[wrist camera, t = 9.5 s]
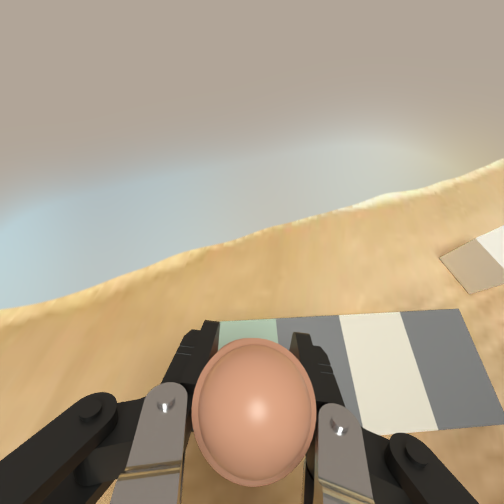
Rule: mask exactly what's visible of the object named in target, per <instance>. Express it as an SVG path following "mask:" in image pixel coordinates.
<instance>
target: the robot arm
mask: <svg viewBox="0 0 504 504" xmlns="http://www.w3.org/2000/svg"><path fill="white" fill-rule="evenodd" d="M219 333H220V322H217V321H209V320H205V321H204V323H203V326H202V328H201V331H200V330H191V331H190V332H188V333H187V334H186V335H185V336H184V337H183V339H182V341H181V343H180V346H179V348H178V350H177V352H176V354H175V356H174V358H173V360H172V362H171V364H170V366H169V368H168V370H167V372H166V374H165V376H164V378H163V380H162V382H161V384H160V385H158V386H156V387H154V388H153V389H152V390H151V391H150V392H149V393H148V394H147V396H146V397H143V398H141V399H137V400H132V401H126V402H121V403H117V401H116V398H115V397H114V396H113V395H112V394H109V393H106V392H99V393H94V394H91V395H88V396H86V397H84V398H82V399H80V400H79V401H77V402H76V403H75V404H73V405H72V406H71V407H70V408H68V409H67V410H66V411H64V412H63V413H62V414H61V415H59V416H58V417H57V418H55V419H54V420H53V421H51V422H50V423H49V424H48V425H46V426H45V427H44V428H42V429H41V430H40V431H39V432H37V433H36V434H35V435H33V436H32V437H31V438H30V439H28V440H27V441H26V442H24V443H23V444H22V445H20V446H19V447H18V448H17V449H15V450H14V451H13V452H11V453H10V454H9V455H8V456H6V457H5V458H4V459H2V460H1V461H0V504H95V503H96V502H97V501H98V500H99V498H100V497H101V496H102V495H103V494H104V492H105V491H106V490H107V489H108V488H109V486H110V485H111V484H112V483H113V481H114V480H115V479H117V482H116V485H115V488H114V491H113V495H112V498H111V501H110V504H181V503H182V490H183V477H184V465H185V452H186V447H187V444H188V441H189V437H190V433H191V431H192V432H194V431H193V425H192V400H193V395H194V390H195V387H196V384H197V381H198V379H199V376H200V374H201V372H202V371H203V369H204V367H205V366H206V364H207V363H208V362H209V360H210V359H211V358H212V357H213V356H214V355H215V354H216V353H217V352H218V345H219ZM289 351H290V352H291V353H292V354H293V355H294V356H295V357H296V358H297V359H298V360H299V362H300V363H301V364H302V366H303V367H304V369H305V370H306V372H307V374H308V376H309V379H310V381H311V384H312V387H313V390H314V395H315V400H316V423H315V430H314V434H313V438H312V441H311V443H310V446H309V448H308V450H307V452H306V454H305V455H306V459H305V462H304V467H303V483H302V500H301V504H479V503H478V502H477V501H476V500H475V499H474V498H473V496H472V495H471V494H470V493H469V492H468V491H467V490H466V489H465V488H464V486H463V485H462V484H461V483H460V482H459V481H458V480H457V479H456V478H455V476H454V475H453V474H452V473H451V472H450V471H449V470H448V469H447V468H446V466H445V465H444V464H443V463H442V462H441V461H440V460H439V459H438V458H437V457H436V455H435V454H434V453H433V452H432V451H431V450H430V449H429V448H428V447H427V446H426V445H425V444H424V443H423V442H421V441H420V440H418V439H417V438H415V437H413V436H411V435H409V434H406V433H395V434H393V435H392V436H391V438H390V440H388V439H386V438H384V437H382V436H379V435H377V434H375V433H373V432H370V431H368V430H366V429H365V428H363V427H362V426H360V423H359V422H358V420H357V418H356V417H355V416H354V415H353V414H352V412H350V411H349V410H348V409H346V407H345V404H344V401H343V399H342V396H341V393H340V390H339V387H338V384H337V381H336V378H335V375H334V374H333V370H332V367H331V364H330V361H329V358H328V355H327V354H326V353H325V351H324V350H323V349H322V348H321V347H320V346H314V345H313V343H312V340H311V336H310V334H309V333H301V332H293V334H292V339H291V344H290V349H289Z"/></svg>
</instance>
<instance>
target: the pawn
mask: <svg viewBox="0 0 504 504" xmlns="http://www.w3.org/2000/svg"><path fill="white" fill-rule="evenodd" d="M315 423H316V400H315V395H314V390H313V387H312V384H311V381H310V379H309V376H308V374H307V372H306V370H305V369H304V367H303V366H302V364H301V363H300V362H299V360H298V359H297V358H296V357H295V356H294V355H293V354H292V353H291V352H290V351H289V350H287V349H286V348H285V347H283V346H281V345H280V344H278V343H275V342H273V341H270V340H267V339H261V338H242V339H238V340H234V341H232V342H229V343H228V344H226V345H224V346H223V347H222V348H220V349H219V350H218V352H217V353H216V354H215V355H214V356H213V357H212V358H211V359H210V360H209V362H208V363H207V364H206V366H205V367H204V369H203V371H202V372H201V374H200V376H199V379H198V381H197V384H196V387H195V390H194V395H193V400H192V425H193V431H194V435H195V439H196V441H197V444H198V447H199V449H200V451H201V453H202V454H203V456H204V458H205V459H206V461H207V462H208V463H209V465H210V466H211V467H212V468H213V469H214V470H215V471H216V472H217V473H219V474H220V475H221V476H222V477H224V478H225V479H227V480H229V481H231V482H233V483H236V484H239V485H243V486H249V487H259V486H264V485H269V484H272V483H274V482H277V481H279V480H280V479H282V478H284V477H285V476H287V475H288V474H289V473H290V472H292V471H293V470H294V469H295V468H296V466H297V465H298V464H299V463H300V462H301V460H302V459H303V457H304V456H305V454H306V452H307V450H308V448H309V446H310V443H311V441H312V438H313V434H314V430H315Z"/></svg>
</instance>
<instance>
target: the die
mask: <svg viewBox="0 0 504 504" xmlns="http://www.w3.org/2000/svg"><path fill="white" fill-rule="evenodd" d="M440 260H441V261H442V262H443V263H444V264H445V266H446V267H447V268H448V269H449V270H450V272H451V273H452V274H453V275H454V276H455V278H456V279H457V280H458V281H459V282H460V284H461V285H462V286H463V287H464V288H465V290H466V291H467V292H468V293H469V294H473V293H476V292H479V291H482V290H486V289H489V288H492V287H495V286H498V285H502V284H504V225H503V226H501V227H499V228H497V229H495V230H493V231H490V232H488V233H486V234H484V235H482V236H479V237H477V238H475V239H473V240H471V241H470V242H468V243H466V244H464V245H462V246H460V247H459V248H457V249H455V250H453V251H451V252H449V253H447V254H446V255H444V256H442V257H440Z"/></svg>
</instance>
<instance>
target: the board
mask: <svg viewBox="0 0 504 504" xmlns="http://www.w3.org/2000/svg"><path fill="white" fill-rule="evenodd" d="M293 332H301V333H309V334H310V336H311V340H312V343H313V345H314V346H320V347H321V348H322V349H323V350H324V351H325V353H326V354H327V355H328V358H329V361H330V364H331V367H332V370H333V374H334V375H335V378H336V381H337V384H338V387H339V390H340V393H341V396H342V399H343V401H344V404H345V407H346V409H348V410H349V411H350V412H352V414H353V415H354V416H355V417H356V418H357V420H358V422H359V423H360V426H362V427H363V428H365V429H366V430H368V431H370V432H373V433H375V434H377V435H388V434H395V433H411V432H423V431H434V430H445V429H457V428H468V427H480V426H491V425H502V424H504V411H503V409H502V407H501V404H500V402H499V400H498V398H497V395H496V393H495V391H494V388H493V386H492V384H491V382H490V379H489V377H488V375H487V372H486V370H485V368H484V366H483V363H482V361H481V359H480V356H479V354H478V352H477V350H476V347H475V345H474V343H473V340H472V338H471V336H470V334H469V331H468V329H467V327H466V324H465V322H464V320H463V318H462V315H461V313H460V311H459V309H445V310H427V311H408V312H390V313H371V314H353V315H334V316H316V317H297V318H279V319H260V320H242V321H223V322H220V333H219V345H218V350H219V349H220V348H222V347H223V346H224V345H226V344H228V343H229V342H232V341H234V340H238V339H242V338H261V339H267V340H270V341H273V342H275V343H278V344H280V345H281V346H283V347H285V348H286V349H287V350H289V349H290V344H291V339H292V334H293Z"/></svg>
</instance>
